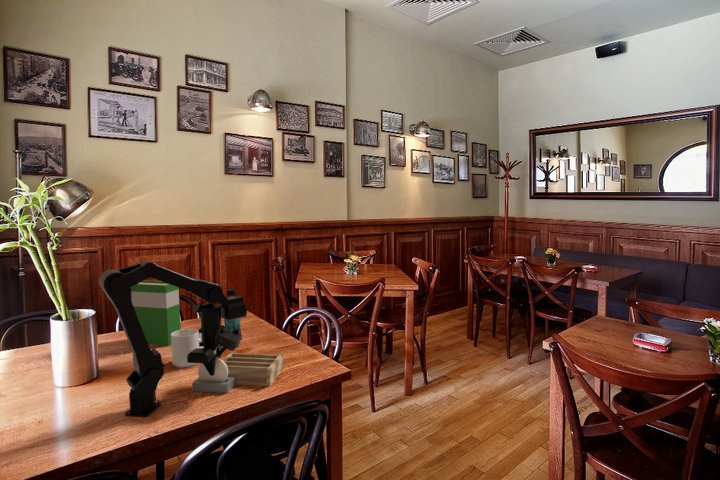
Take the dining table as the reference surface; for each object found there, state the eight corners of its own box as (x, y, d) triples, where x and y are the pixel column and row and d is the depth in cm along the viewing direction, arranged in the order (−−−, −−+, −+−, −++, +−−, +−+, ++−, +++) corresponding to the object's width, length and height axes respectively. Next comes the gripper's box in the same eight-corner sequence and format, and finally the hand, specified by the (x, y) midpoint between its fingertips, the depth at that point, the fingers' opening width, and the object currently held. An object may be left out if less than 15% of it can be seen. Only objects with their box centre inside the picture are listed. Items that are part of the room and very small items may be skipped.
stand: (227, 392, 121) (227, 384, 120) (192, 391, 122) (192, 383, 122) (234, 385, 126) (234, 377, 125) (200, 383, 127) (200, 375, 127)
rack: (270, 386, 125) (269, 370, 124) (213, 383, 127) (213, 367, 126) (283, 367, 139) (283, 353, 138) (232, 365, 141) (232, 351, 140)
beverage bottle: (223, 335, 172) (221, 288, 170) (239, 333, 175) (238, 287, 173) (225, 340, 166) (223, 292, 164) (242, 338, 169) (240, 290, 167)
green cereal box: (130, 342, 164) (127, 283, 162) (144, 336, 171) (141, 280, 169) (168, 346, 160) (165, 285, 158) (181, 339, 167) (178, 281, 165)
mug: (184, 370, 137) (183, 338, 136) (166, 365, 141) (164, 334, 140) (212, 358, 148) (210, 328, 146) (194, 354, 151) (193, 324, 150)
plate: (227, 387, 123) (226, 358, 122) (198, 386, 124) (197, 357, 123) (229, 385, 124) (227, 357, 123) (200, 384, 125) (199, 356, 124)
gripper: (223, 335, 112) (225, 389, 113) (249, 315, 130) (250, 363, 132) (184, 333, 113) (187, 388, 114) (215, 314, 131) (217, 361, 133)
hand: (213, 374), depth 123 cm, fingers closed on plate, 1 cm apart
